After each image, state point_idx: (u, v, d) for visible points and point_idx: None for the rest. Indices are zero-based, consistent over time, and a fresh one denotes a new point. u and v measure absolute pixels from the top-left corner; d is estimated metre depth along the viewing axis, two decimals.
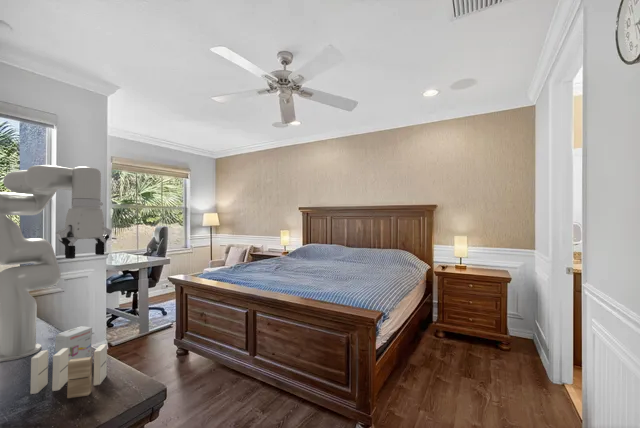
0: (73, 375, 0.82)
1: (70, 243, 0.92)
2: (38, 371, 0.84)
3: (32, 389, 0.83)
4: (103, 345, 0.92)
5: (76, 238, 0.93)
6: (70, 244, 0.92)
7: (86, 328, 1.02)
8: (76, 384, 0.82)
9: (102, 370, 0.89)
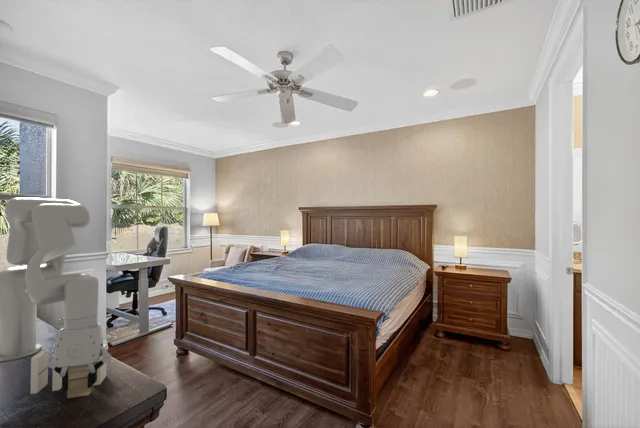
0: (73, 375, 0.82)
1: None
2: (38, 371, 0.84)
3: (32, 389, 0.83)
4: (103, 345, 0.92)
5: None
6: None
7: None
8: (76, 384, 0.82)
9: (102, 370, 0.89)
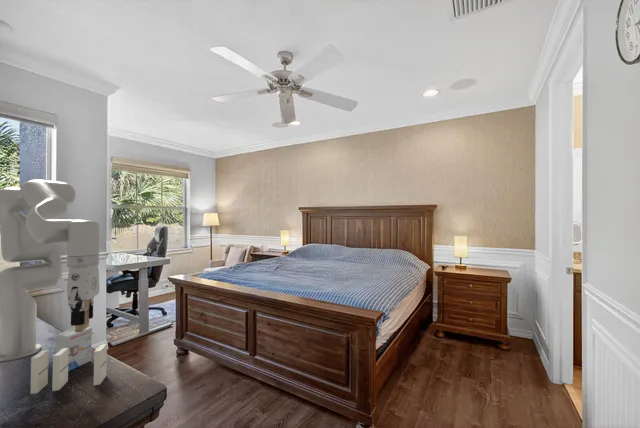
0: (83, 309, 0.88)
1: None
2: (38, 371, 0.84)
3: (32, 389, 0.83)
4: (103, 345, 0.92)
5: None
6: None
7: (86, 328, 1.02)
8: None
9: (102, 370, 0.89)
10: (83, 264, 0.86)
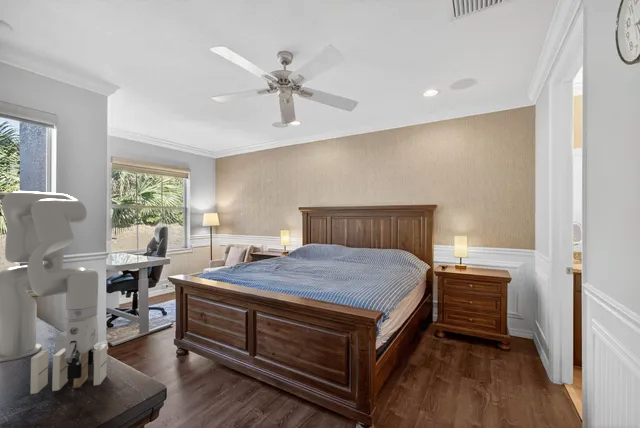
0: (82, 364, 0.88)
1: None
2: (38, 371, 0.84)
3: (32, 389, 0.83)
4: (103, 345, 0.92)
5: None
6: None
7: None
8: (83, 371, 0.89)
9: (102, 370, 0.89)
10: (82, 317, 0.86)
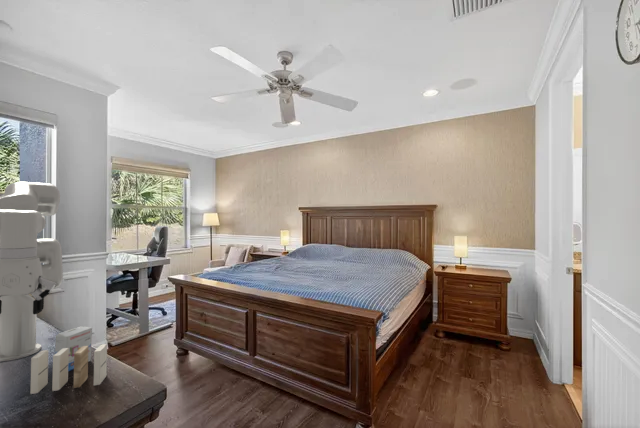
0: (82, 364, 0.88)
1: None
2: (38, 371, 0.84)
3: (32, 389, 0.83)
4: (103, 345, 0.92)
5: None
6: None
7: (86, 328, 1.02)
8: (83, 371, 0.89)
9: (102, 370, 0.89)
10: None
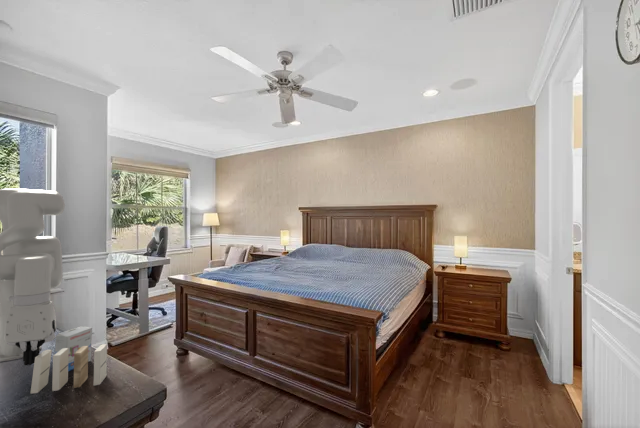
0: (82, 364, 0.88)
1: None
2: (40, 371, 0.84)
3: (32, 389, 0.83)
4: (103, 345, 0.92)
5: None
6: None
7: (86, 328, 1.02)
8: (83, 371, 0.89)
9: (102, 370, 0.89)
10: None
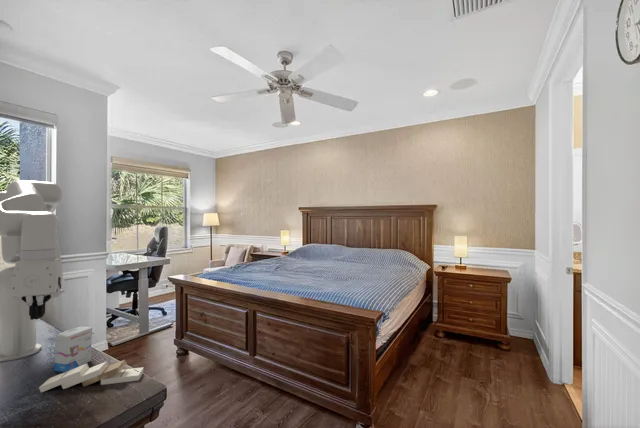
0: None
1: None
2: (65, 382, 0.86)
3: (44, 386, 0.84)
4: (142, 371, 0.94)
5: None
6: None
7: (86, 328, 1.02)
8: None
9: None
10: (20, 258, 0.84)
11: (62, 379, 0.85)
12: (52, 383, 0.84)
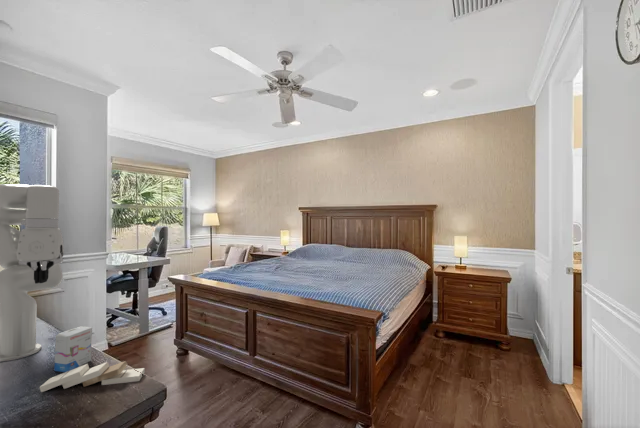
0: None
1: None
2: None
3: (44, 386, 0.84)
4: (143, 372, 0.94)
5: None
6: None
7: (86, 328, 1.02)
8: None
9: None
10: (25, 226, 0.91)
11: (62, 379, 0.85)
12: (52, 383, 0.84)
